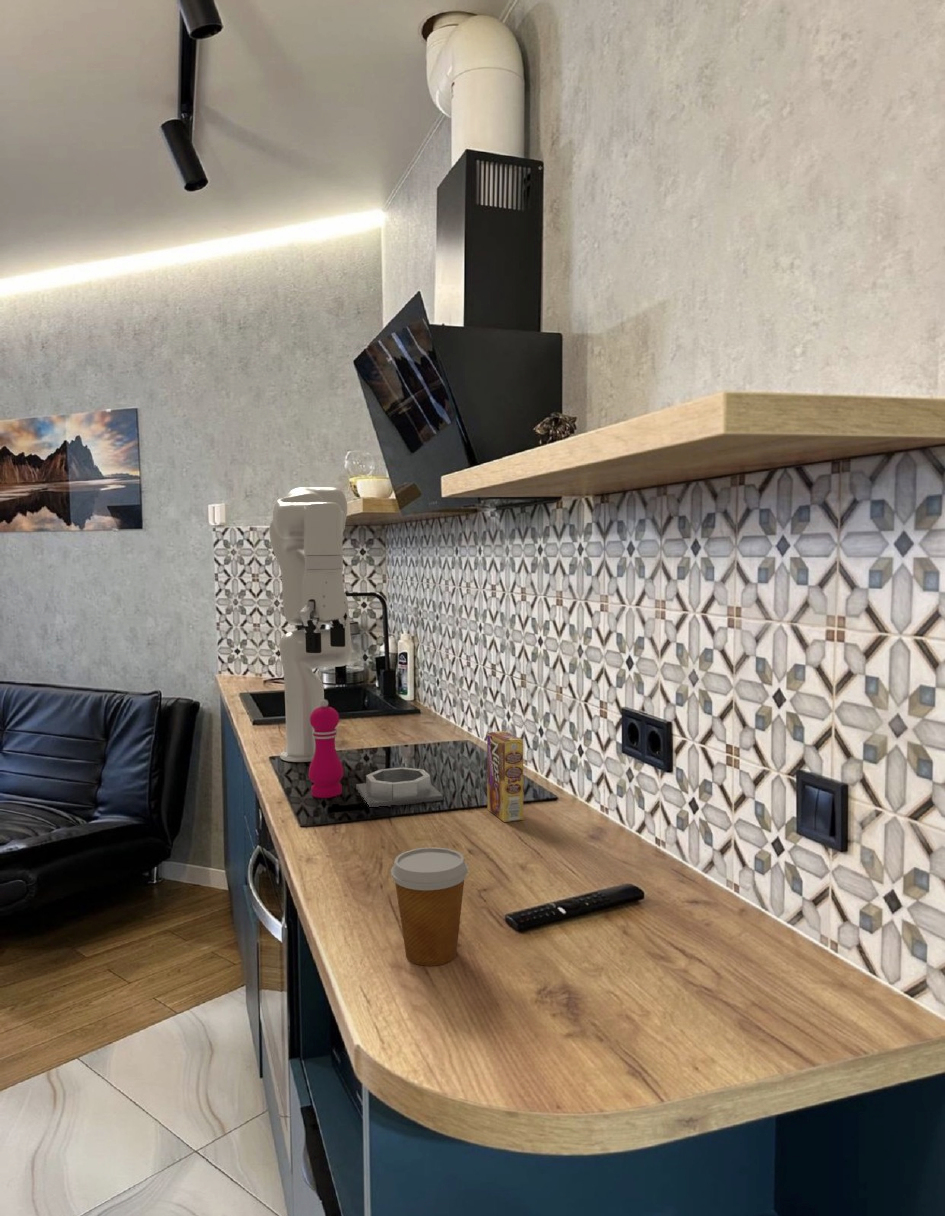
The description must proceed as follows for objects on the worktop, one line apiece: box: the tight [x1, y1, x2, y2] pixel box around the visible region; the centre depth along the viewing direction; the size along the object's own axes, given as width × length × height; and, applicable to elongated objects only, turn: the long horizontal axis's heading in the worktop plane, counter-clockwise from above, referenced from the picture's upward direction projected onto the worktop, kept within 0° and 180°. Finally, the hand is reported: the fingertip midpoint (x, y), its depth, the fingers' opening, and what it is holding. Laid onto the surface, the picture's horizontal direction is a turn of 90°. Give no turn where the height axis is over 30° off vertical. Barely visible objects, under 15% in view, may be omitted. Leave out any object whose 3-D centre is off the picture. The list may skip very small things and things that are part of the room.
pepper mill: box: [308, 698, 344, 799], centre depth 175 cm, size 7×7×20 cm
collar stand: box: [355, 766, 444, 808], centre depth 174 cm, size 15×15×4 cm
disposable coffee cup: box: [390, 846, 469, 967], centre depth 103 cm, size 10×10×12 cm
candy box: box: [486, 730, 524, 823], centre depth 159 cm, size 9×4×15 cm, turn 20°
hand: (326, 649), depth 168 cm, fingers open, 9 cm apart
